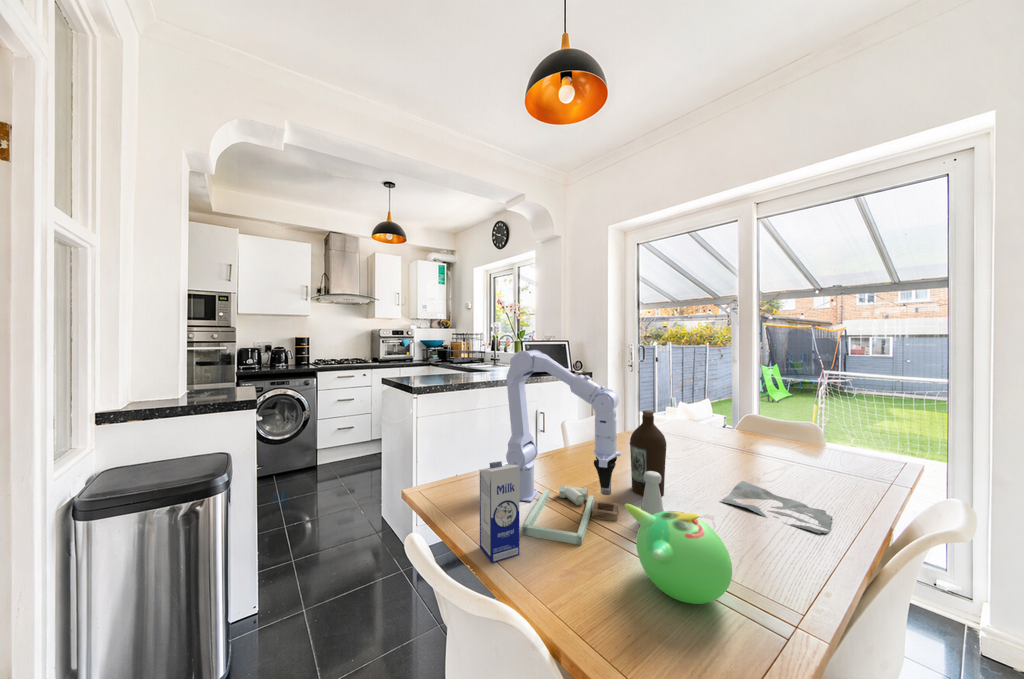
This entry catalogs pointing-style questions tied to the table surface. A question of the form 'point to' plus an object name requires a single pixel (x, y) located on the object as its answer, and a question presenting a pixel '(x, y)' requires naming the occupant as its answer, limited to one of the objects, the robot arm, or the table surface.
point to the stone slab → (755, 492)
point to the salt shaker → (652, 493)
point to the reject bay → (552, 533)
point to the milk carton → (499, 511)
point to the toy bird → (682, 555)
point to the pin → (606, 490)
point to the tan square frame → (605, 514)
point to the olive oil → (647, 453)
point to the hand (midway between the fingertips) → (605, 485)
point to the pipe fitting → (574, 494)
